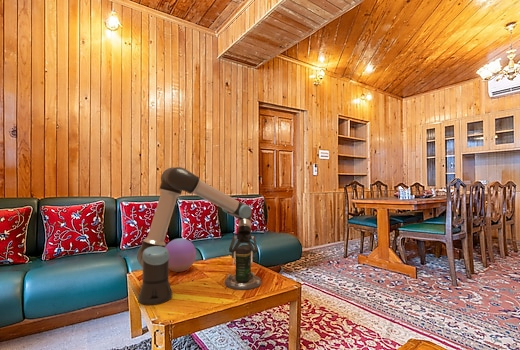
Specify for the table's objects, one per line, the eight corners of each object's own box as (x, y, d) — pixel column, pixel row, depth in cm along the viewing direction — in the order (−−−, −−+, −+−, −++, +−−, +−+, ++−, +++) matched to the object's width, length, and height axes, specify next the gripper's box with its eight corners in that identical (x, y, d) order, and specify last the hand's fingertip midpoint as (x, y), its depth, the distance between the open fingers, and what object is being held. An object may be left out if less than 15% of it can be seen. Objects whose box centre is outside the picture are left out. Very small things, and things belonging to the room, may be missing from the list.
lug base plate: (217, 285, 153) (217, 279, 153) (238, 274, 170) (238, 269, 170) (248, 292, 143) (248, 286, 143) (267, 280, 160) (267, 275, 160)
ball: (171, 265, 188) (171, 234, 188) (200, 266, 185) (200, 236, 185) (156, 275, 168) (156, 241, 168) (188, 277, 165) (188, 242, 165)
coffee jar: (247, 283, 151) (247, 248, 151) (233, 282, 153) (233, 247, 153) (253, 277, 160) (252, 244, 161) (239, 276, 162) (239, 243, 163)
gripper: (262, 232, 172) (262, 266, 156) (227, 232, 172) (223, 266, 156) (262, 224, 167) (262, 259, 151) (226, 224, 167) (222, 259, 151)
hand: (242, 263), depth 154 cm, fingers open, 9 cm apart
